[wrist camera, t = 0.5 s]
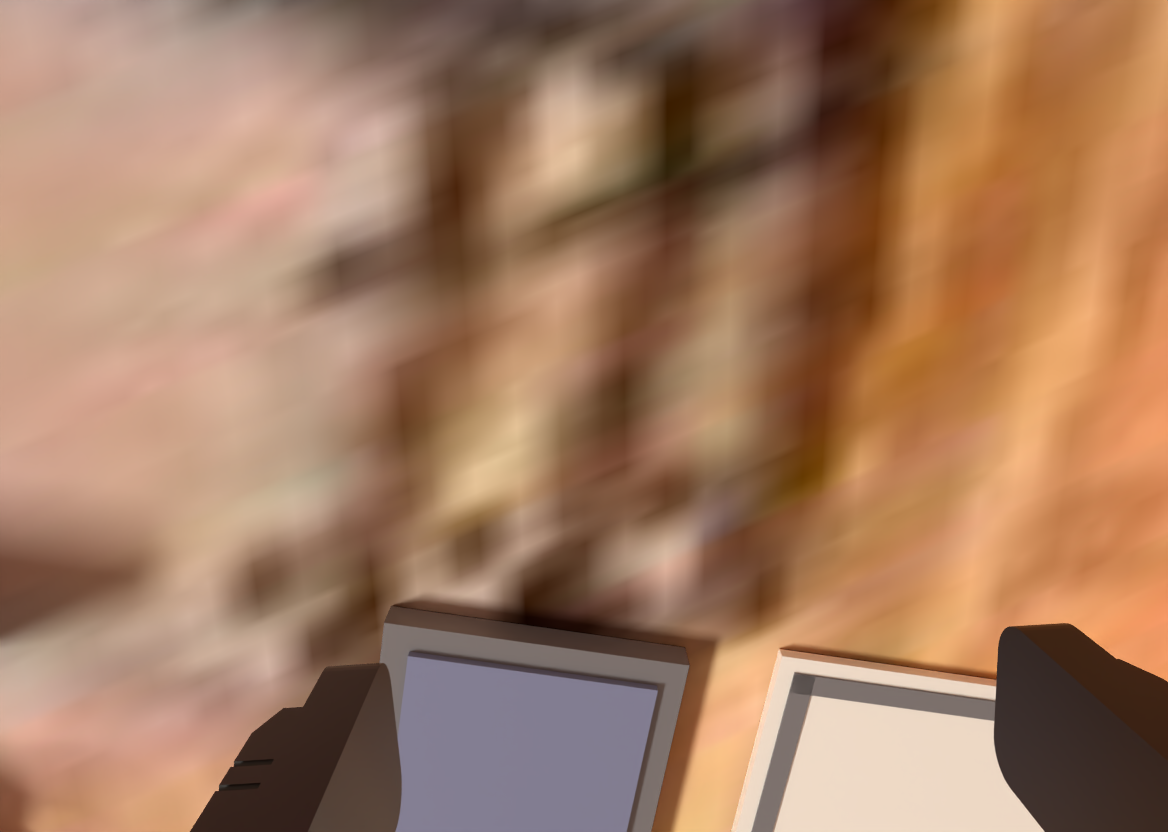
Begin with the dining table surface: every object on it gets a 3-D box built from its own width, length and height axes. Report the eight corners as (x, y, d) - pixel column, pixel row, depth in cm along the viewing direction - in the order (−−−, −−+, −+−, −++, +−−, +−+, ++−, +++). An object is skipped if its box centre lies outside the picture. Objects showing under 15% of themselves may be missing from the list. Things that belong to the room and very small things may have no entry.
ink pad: (391, 605, 31) (382, 627, 29) (685, 647, 32) (690, 670, 30) (362, 848, 34) (353, 879, 32) (631, 882, 35) (634, 913, 33)
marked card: (779, 648, 32) (783, 657, 31) (1132, 699, 33) (1142, 708, 32) (702, 939, 35) (704, 952, 35) (1020, 977, 36) (1027, 990, 36)
